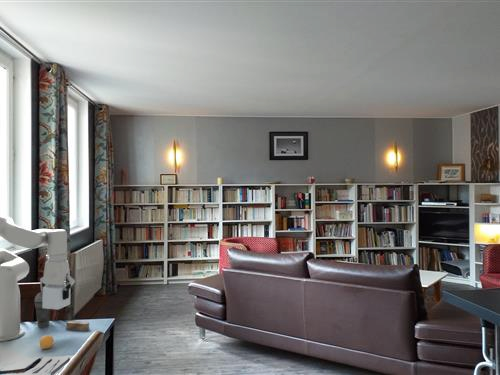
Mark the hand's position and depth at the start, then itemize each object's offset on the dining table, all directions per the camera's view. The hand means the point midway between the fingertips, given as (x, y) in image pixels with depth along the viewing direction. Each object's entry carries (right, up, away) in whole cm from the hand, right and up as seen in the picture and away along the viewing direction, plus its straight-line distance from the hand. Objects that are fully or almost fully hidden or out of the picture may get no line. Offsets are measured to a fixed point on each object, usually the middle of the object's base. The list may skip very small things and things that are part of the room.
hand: (57, 298), depth 166 cm
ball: (+3, -13, -15) cm, 20 cm away
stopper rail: (+7, -16, +5) cm, 18 cm away
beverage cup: (-12, -16, +11) cm, 23 cm away
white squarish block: (0, -3, 0) cm, 3 cm away
